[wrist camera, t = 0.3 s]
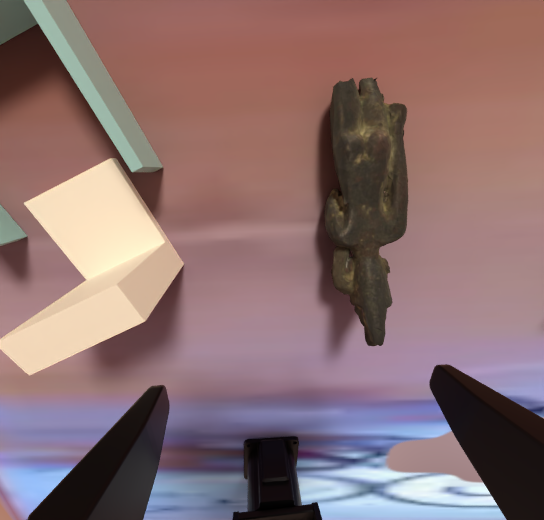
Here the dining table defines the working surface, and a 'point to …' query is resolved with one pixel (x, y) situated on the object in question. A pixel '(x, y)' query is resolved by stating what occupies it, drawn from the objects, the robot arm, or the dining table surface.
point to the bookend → (96, 266)
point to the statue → (366, 197)
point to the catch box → (89, 78)
